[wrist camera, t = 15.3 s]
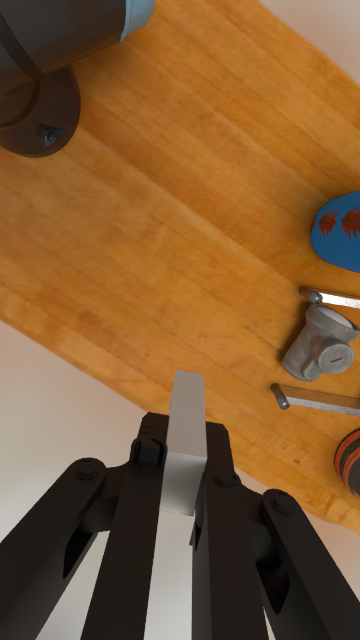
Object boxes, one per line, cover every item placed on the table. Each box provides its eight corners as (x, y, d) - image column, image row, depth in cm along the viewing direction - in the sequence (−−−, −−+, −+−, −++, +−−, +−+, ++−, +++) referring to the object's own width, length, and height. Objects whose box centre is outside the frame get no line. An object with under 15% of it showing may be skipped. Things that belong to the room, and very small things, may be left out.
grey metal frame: (270, 390, 57) (278, 408, 52) (300, 285, 52) (313, 292, 46) (365, 407, 57) (384, 427, 52) (406, 304, 52) (432, 314, 46)
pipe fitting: (306, 293, 52) (333, 320, 42) (347, 313, 53) (381, 343, 44) (267, 351, 56) (283, 386, 47) (305, 368, 57) (328, 405, 48)
